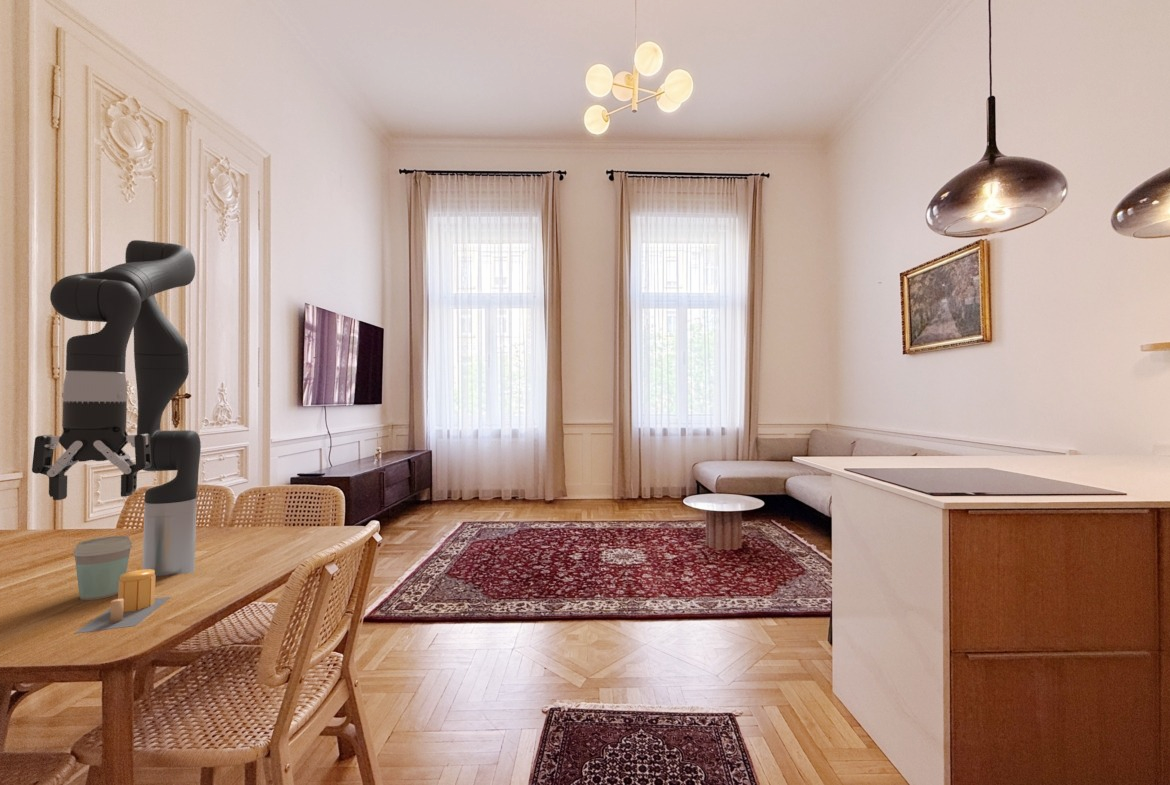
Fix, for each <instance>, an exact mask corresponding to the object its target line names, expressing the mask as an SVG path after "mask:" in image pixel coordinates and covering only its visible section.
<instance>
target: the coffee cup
mask: <svg viewBox="0 0 1170 785" xmlns="http://www.w3.org/2000/svg"><path fill="white" fill-rule="evenodd" d="M132 547H133V543H132V542H131V539H130V536H126V535H115V536H114V535H113V536H112V535H111V536H103V537H95V538H90V539H87V540H83V541H79V542H78V543H77V544H76V546H75V548H74V549H73V553H72V556H73V557H74V561H75V569H76V570H75V571H76V576H77V577H76V578H77V585H78V595H79V599H80V600H82V601H92V600H99V599H105V598H109V597H113V596H116V595H118V584H119V580H120V575H122V574H125V573H127V570H128V565H129V564H128V563H129V559H130V554H131V549H132Z"/></svg>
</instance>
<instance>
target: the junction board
mask: <svg viewBox="0 0 1170 785" xmlns="http://www.w3.org/2000/svg"><path fill="white" fill-rule="evenodd" d="M170 599H171V596H167V597H157V598H156V597H155V603H154V604H152V605H151V606H149V607H146V608H143V609H139V610H135V611H126V612H124V611H123V608H124V599H118V598H115V599H113V600H111V601H110V608H109V609H107V610H106V611H104V612H103V613H102V614H100V615H99V616H97V617H95V618H94V619H93V620H91V621H90V622H89V623H87V624H86V625H84V626H83V627H81V628H80V629H78V630H77V631H76V632H74V634H81V633H89V632H90V633H91V632H96V631H106V630H113V629H122V628H129V627H136V626H138V625H139V624H140V623H141V622H143V621H144V620H145V619H146V618H148V617H149V616H150V615H151V614H152V613H153V612H155V611H156V610H157V609H159V608H160V606H162V605H163V604H164V603H166V602H167V601H168V600H170Z"/></svg>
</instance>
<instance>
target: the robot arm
mask: <svg viewBox="0 0 1170 785" xmlns="http://www.w3.org/2000/svg"><path fill="white" fill-rule="evenodd" d="M124 258H125V263H120V264H116V265H115V266H112V267H110V268H107V269H105V270H102V271H95V272H94V271H93V272H86V273H85V272H84V273H77V274H71V275H68V276H65V277H62V278H60V279H59V280H58V281H57V282H56V283H55V284H54V285H53V287H52V288H51V291H50V294H49V296H50V297H49V298H50V303H51V305H52V307H53V308H54V310H55V311H56V313H58V314H59V315H61V316H62V317H64V318H66V319H70V320H73V321H81V322H96V323H97V322H98V323H105V324H104V326H103V327H102V328H101V329H100V330H99V331H97V332H94V333H89V334H81V335H79V334H78V335H76V336H72V337H70V338H69V339H68V340H67V343H66V350H65V351H66V354H65V376H64V379H63V380H64V381H63V387H62V388H63V390H62V391H63V392H62V393H61V394H62V395H61V397H62V434H61V435H59V436H58V435H52V434H43V435H38V436H36V437H35V438H34V447H33V455H32V465H31V472H32V473H34V474H41V475H45V476H47V477H48V495H49V497H51V498H52V500H53V501H62V500H64V499H66V498H67V497H68V475H67V474H66V473H67V472H68V471H69V470H70V469H71V468H72V467H73V466H74V465H76V464H77V463H78V462H80V463H81V462H89V461H96V462H104V461H109V462H110V463H111V464H112V465H114V466H116V467H117V468H118V469H119V470H120V472H122V473H123V474H120V497H122V498H124V497H130V496H132V494H133V493H134V492H136V490H137V482H138V480H137V478H138V473H139V472H140V471H142V470H143V471H144V472H163V471H167V472H168V471H176V476H175V477H174V478H172V479H171V480H170V481H167V482H166V483H163V484H160V485H156V486H154V487H151V488H148V489H147V490H146V491H145V493H144V506H143V507H144V509H143V510H144V511H143V540H142V541H143V542H142V566H141V567H142V568H141V570H145V569H152V570H155V575H156V577H164V576H173V575H179V574H180V575H181V574H192V573H195V567H196V566H195V565H196V564H195V561H196V539H197V538H196V533H197V532H196V530H197V501H198V500H197V499H198V498H197V497H198V496H197V494H198V483H199V469H200V460H201V459H200V458H201V451H202V450H201V446H202V444H201V437H200V435H199V433H198V432H196V431H194V430H186V429H185V430H182V429H181V430H161V421H162V416H163V413H164V411H165V409H166V407H167V406H168V404H169V403H170V401H171V400H172V399H173V398H174V396H175V395H176V394H177V392H179V390H180V389H181V387H182V386H183V384H184V383H185V382H186V380H187V379H188V376H189V372H190V370H189V366H190V364H189V349H188V345H187V343H186V341H185V339H184V338H183V336H182V335H181V333H180V332H179V330H178V329H176V327H175V326H174V325H173V323H172V322H171V321H170V320H169V319H168V317H167V316H166V315H165V314H164V312H163V311H162V309H161V308H160V306H159V303H158V302H157V299H156V296H155V295H157V294H158V293H162V292H165V291H168V290H171V289H176V288H181V287H185V286H188V285H190V284H191V283H192V281H193V280H194V279H195V276H196V262H195V259H194V254H193V253H192V252H191V249H189V248H187V247H186V246H183V245H180V244H176V243H168V242H160V241H158V242H157V241H148V240H142V239H141V240H139V239H136V240H135V239H134V240H131V241H129V242H128V243H127V245H126V248H125V257H124ZM132 332H133V357H134V358H133V359H134V372H135V382H136V383H135V384H136V393H137V394H136V395H137V424H136V434H132V435H131V434H130V435H129V434H128V433H127V431H126V430H127V429H126V428H127V415H128V414H127V413H128V412H127V408H128V407H127V404H128V400H127V399H128V384H127V379H126V377H127V376H126V357H127V349H128V343H129V341H130V337H131V335H132ZM128 443H129V444H130V445H131V447H132V448H134V453H135V454H134V458H135V462H134V461H133V460H132V459H131V456H130V455H129V454H128V453H127V452H126V450H124V449H123V448H124V447H125V446H126V445H127V444H128ZM59 444H60V446H61V447H62V448H63V449H64V450H65V452H63V454H61V456H59V458H57V460H56V461H55V463H54V464H53V460H54V458H53V457H54V450H55V449H57V447H58V446H59ZM65 474H66V475H65Z"/></svg>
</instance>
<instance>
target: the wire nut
mask: <svg viewBox="0 0 1170 785" xmlns="http://www.w3.org/2000/svg"><path fill="white" fill-rule="evenodd" d="M156 578H157V576H156V575H155V570H152V569H145V570H142V569H139V570H133V571H129V572H126V573H125V574H122V575H120V580H119V584H118V594H117V599H124V608H123V611H124V612H126V611H135V610H139V609H143V608H146V607H149V606H151V605H152V604H154V603H155V598H156Z"/></svg>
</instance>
